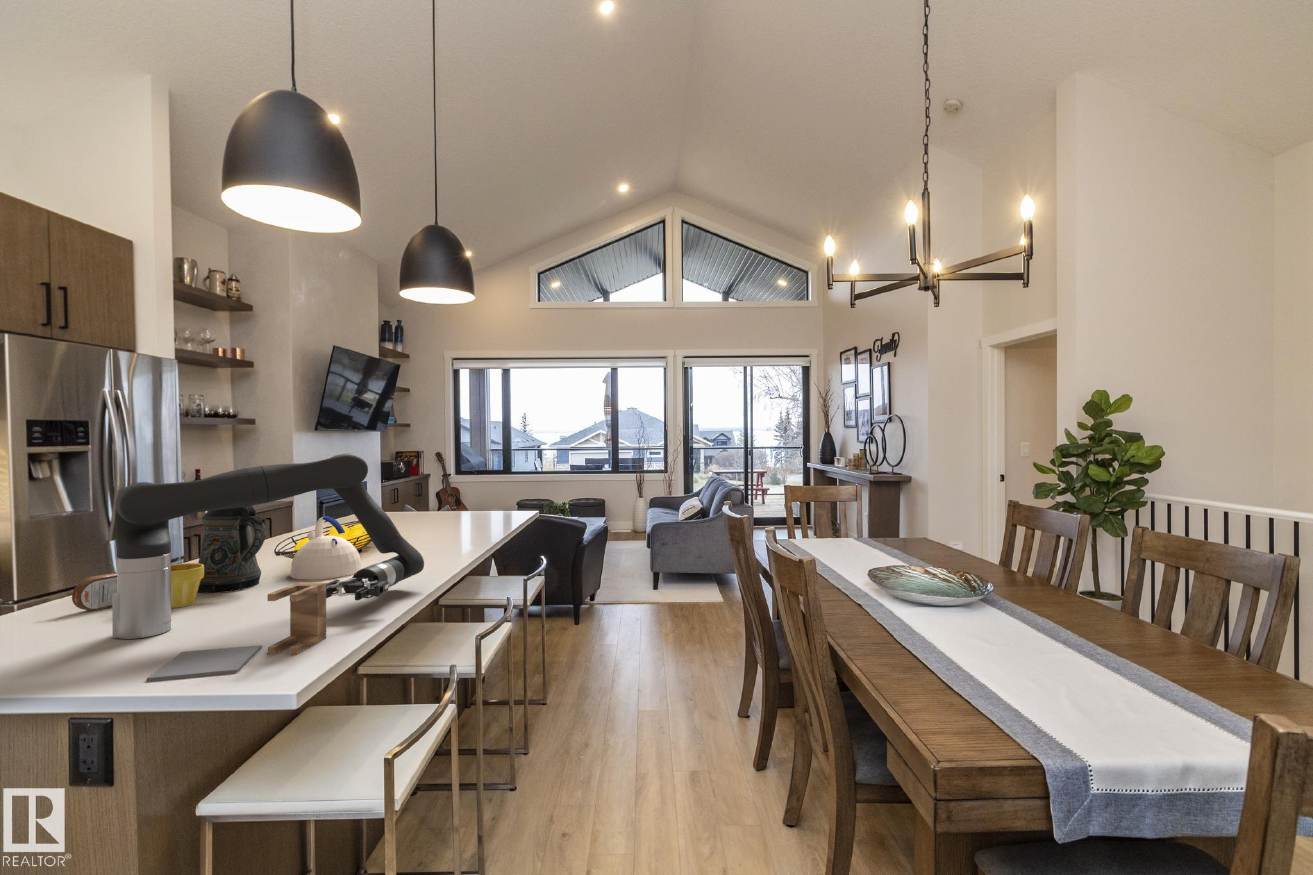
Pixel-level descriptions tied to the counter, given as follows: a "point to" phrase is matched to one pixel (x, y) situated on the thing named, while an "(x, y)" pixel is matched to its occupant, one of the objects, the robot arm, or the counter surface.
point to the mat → (205, 663)
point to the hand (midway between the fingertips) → (338, 595)
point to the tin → (95, 592)
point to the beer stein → (231, 549)
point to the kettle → (325, 555)
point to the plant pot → (185, 583)
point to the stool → (303, 616)
